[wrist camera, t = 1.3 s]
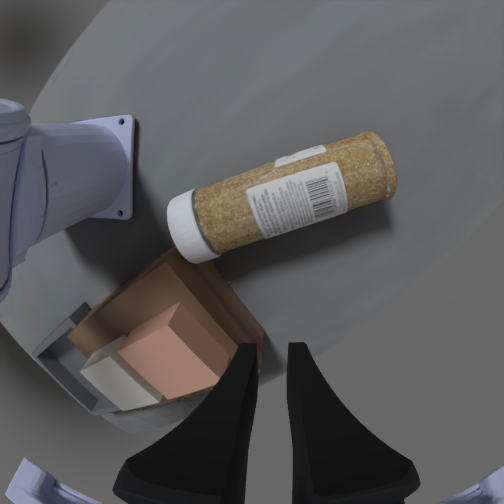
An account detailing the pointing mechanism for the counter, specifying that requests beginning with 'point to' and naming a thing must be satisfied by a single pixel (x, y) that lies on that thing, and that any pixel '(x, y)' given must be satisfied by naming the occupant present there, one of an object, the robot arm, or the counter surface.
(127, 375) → the cream tile
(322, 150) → the sprinkles bottle
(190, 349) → the terracotta tile
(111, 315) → the walnut board
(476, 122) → the counter surface
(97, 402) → the box
